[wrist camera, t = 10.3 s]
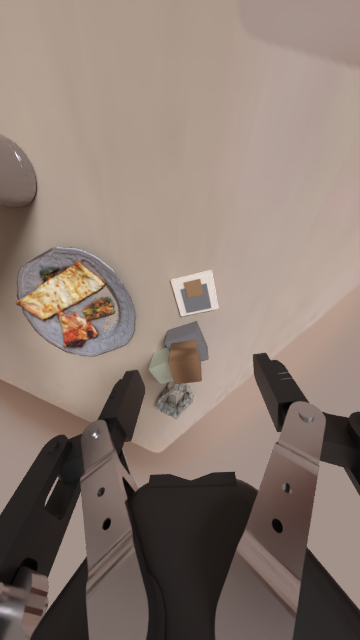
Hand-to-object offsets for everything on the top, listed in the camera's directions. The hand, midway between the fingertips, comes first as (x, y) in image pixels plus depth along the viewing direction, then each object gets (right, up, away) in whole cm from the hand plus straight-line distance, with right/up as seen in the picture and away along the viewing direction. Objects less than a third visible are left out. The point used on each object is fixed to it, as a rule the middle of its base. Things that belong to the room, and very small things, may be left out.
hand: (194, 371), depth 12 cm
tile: (+2, +9, +23) cm, 25 cm away
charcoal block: (+1, -1, +29) cm, 29 cm away
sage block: (-4, -5, +31) cm, 32 cm away
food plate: (-23, +7, +27) cm, 36 cm away
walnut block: (0, -3, +24) cm, 24 cm away
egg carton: (-2, -17, +38) cm, 41 cm away
